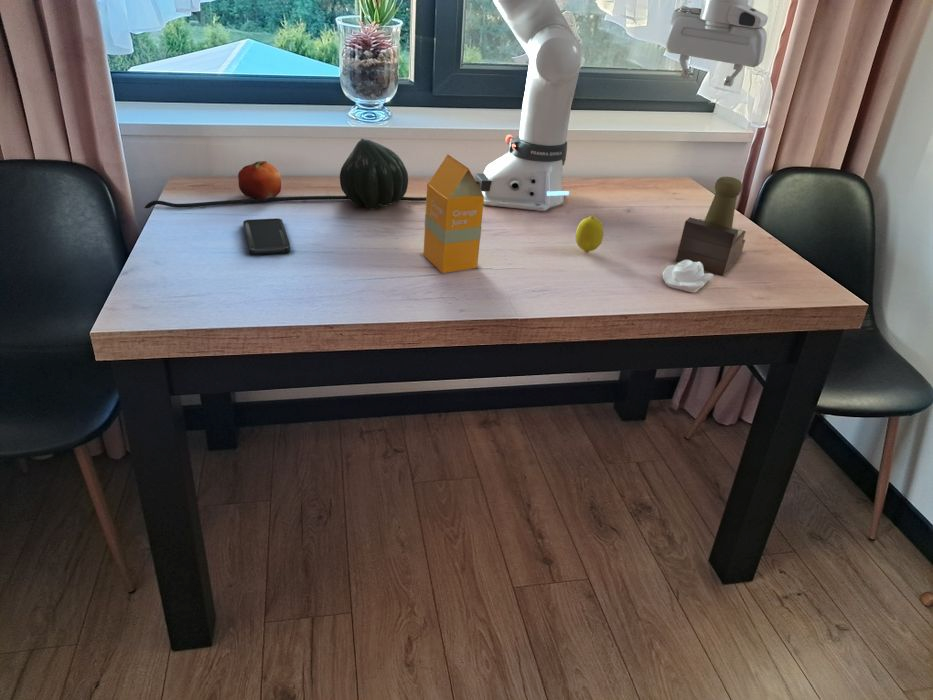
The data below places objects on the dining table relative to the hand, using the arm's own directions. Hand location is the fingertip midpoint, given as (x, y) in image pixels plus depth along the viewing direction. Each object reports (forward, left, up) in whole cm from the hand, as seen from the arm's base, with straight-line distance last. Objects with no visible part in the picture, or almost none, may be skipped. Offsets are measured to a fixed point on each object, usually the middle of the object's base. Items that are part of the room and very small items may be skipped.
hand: (706, 81), depth 160 cm
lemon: (-27, -22, -31) cm, 47 cm away
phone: (-92, -20, -31) cm, 99 cm away
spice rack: (0, -23, -31) cm, 38 cm away
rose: (-10, -35, -31) cm, 48 cm away
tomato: (-96, +3, -31) cm, 101 cm away
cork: (0, -22, -25) cm, 34 cm away
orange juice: (-56, -28, -31) cm, 70 cm away
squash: (-71, +2, -31) cm, 78 cm away
